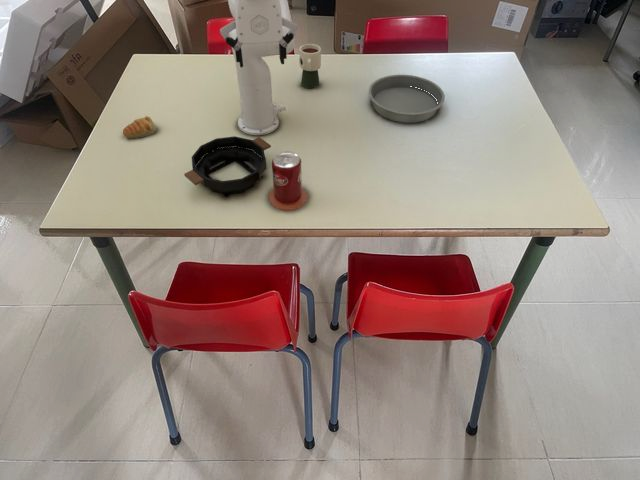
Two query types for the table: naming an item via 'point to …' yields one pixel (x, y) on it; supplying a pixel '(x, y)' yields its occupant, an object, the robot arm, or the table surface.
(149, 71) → the table surface
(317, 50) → the character mug
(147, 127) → the pastry
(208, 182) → the wok
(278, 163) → the soda can
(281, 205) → the coaster
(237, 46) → the robot arm
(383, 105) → the cake pan
